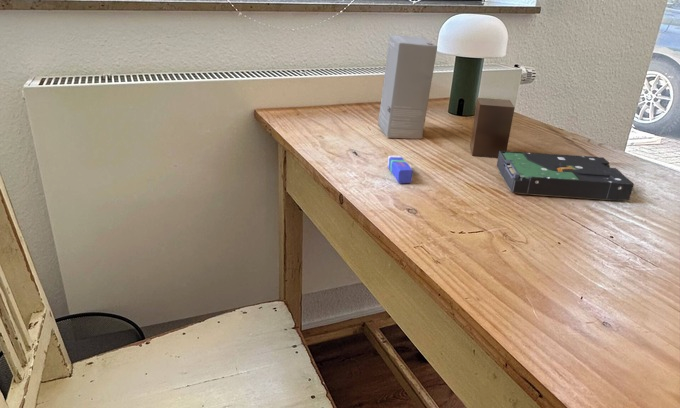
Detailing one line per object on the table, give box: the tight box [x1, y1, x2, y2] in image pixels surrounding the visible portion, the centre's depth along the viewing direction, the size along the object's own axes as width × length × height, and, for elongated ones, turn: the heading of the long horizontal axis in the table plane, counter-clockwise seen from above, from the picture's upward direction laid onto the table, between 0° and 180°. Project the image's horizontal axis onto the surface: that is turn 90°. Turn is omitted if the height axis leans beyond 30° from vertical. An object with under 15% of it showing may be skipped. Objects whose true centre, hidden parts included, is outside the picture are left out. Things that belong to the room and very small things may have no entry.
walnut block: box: [469, 97, 515, 159], centre depth 79 cm, size 5×5×8 cm
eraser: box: [387, 154, 414, 184], centre depth 69 cm, size 2×6×2 cm, turn 8°
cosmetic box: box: [377, 34, 438, 140], centre depth 86 cm, size 8×7×16 cm
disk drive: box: [496, 150, 635, 201], centre depth 69 cm, size 10×3×15 cm
